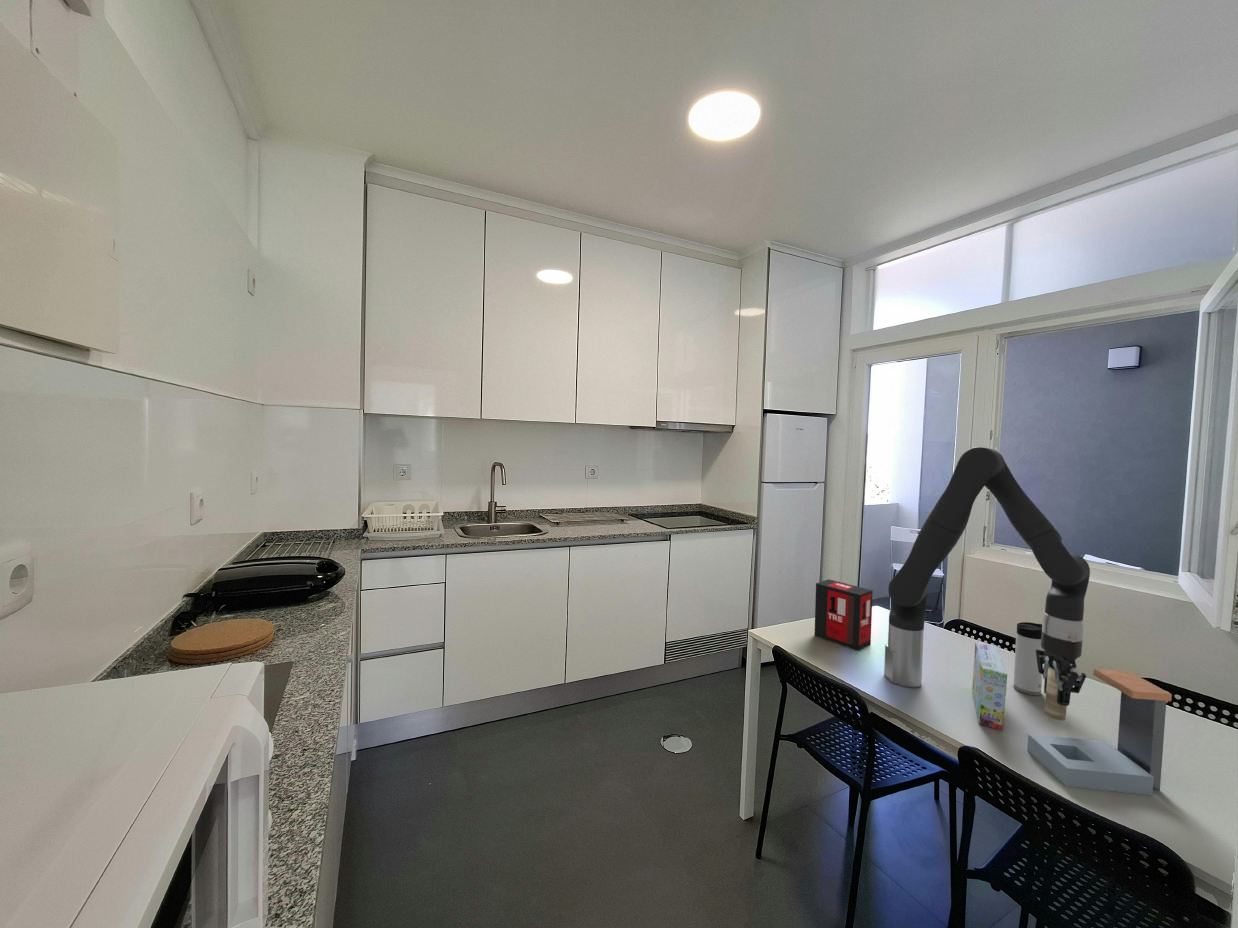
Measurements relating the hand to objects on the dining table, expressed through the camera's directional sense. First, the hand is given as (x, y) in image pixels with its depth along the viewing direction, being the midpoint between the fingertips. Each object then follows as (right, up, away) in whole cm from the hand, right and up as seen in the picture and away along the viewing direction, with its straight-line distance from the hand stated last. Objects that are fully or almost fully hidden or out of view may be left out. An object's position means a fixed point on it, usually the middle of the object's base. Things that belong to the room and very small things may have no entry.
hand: (1056, 699), depth 121 cm
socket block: (-6, -9, -14) cm, 18 cm away
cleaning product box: (-28, -6, +56) cm, 63 cm away
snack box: (-9, -8, +11) cm, 17 cm away
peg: (0, -4, 0) cm, 4 cm away
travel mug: (+11, -8, +21) cm, 25 cm away
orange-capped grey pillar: (+1, -9, -15) cm, 18 cm away
